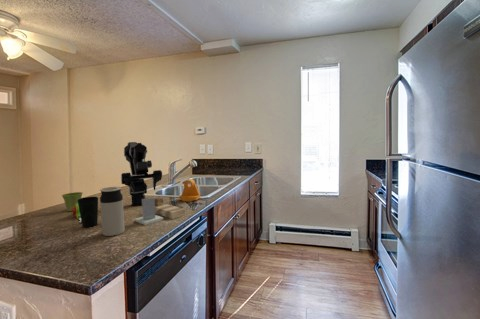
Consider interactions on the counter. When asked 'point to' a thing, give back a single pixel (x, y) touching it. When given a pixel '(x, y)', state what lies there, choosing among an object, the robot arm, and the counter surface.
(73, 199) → the plant pot
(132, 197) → the robot arm
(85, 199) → the cup
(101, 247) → the counter surface
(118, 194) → the travel mug
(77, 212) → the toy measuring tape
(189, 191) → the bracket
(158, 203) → the body
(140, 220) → the sage mat
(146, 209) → the lever cap
